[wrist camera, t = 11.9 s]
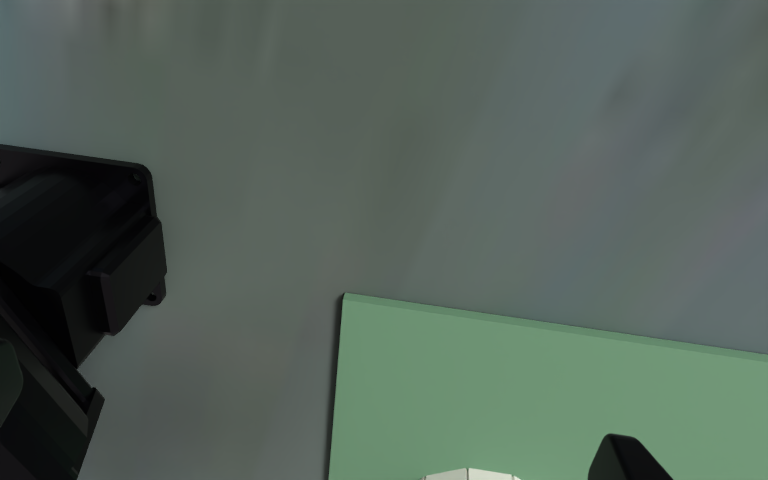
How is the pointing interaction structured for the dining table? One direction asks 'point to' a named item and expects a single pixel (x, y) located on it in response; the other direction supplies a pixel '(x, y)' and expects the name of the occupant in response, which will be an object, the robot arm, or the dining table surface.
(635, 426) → the putting mat
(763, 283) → the dining table surface
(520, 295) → the dining table surface
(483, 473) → the cup
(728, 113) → the dining table surface
